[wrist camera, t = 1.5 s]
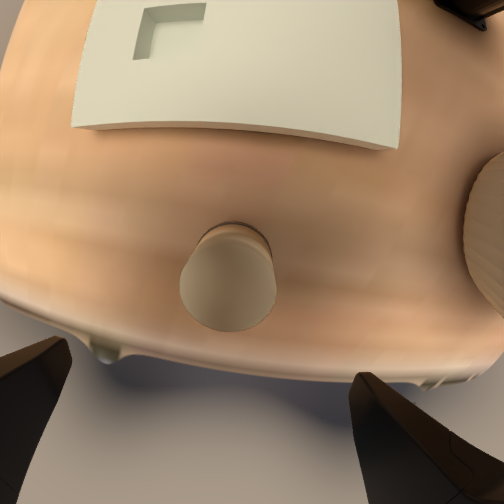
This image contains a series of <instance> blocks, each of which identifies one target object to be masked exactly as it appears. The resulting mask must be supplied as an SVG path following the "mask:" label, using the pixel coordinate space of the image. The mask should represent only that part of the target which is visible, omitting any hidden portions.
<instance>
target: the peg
mask: <svg viewBox="0 0 504 504" xmlns="http://www.w3.org/2000/svg"><path fill="white" fill-rule="evenodd" d="M276 290H277V289H276V281H275V275H274V269H273V263H272V253H271V249H270V246H269V244H268V242H267V240H266V238H265V237H264V236H263V235H262V234H261V233H260V232H259V231H258V230H257V229H255V228H254V227H252V226H250V225H248V224H245V223H242V222H224V223H221V224H218V225H216V226H214V227H212V228H211V229H209V230H208V231H207V232H206V233H205V234H204V235H203V236H202V238H201V239H200V241H199V243H198V244H197V247H196V249H195V250H194V252H193V253H192V255H191V256H190V258H189V260H188V261H187V263H186V264H185V266H184V268H183V270H182V273H181V276H180V281H179V291H180V296H181V299H182V302H183V304H184V306H185V308H186V309H187V311H188V312H189V314H190V315H191V316H192V317H193V318H194V319H195V320H197V321H198V322H199V323H201V324H202V325H204V326H206V327H208V328H211V329H213V330H217V331H222V332H238V331H243V330H246V329H249V328H251V327H253V326H255V325H257V324H258V323H260V322H261V321H262V320H263V319H264V318H265V317H266V316H267V315H268V314H269V312H270V311H271V309H272V307H273V305H274V302H275V298H276Z"/></svg>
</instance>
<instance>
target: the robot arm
mask: <svg viewBox="0 0 504 504" xmlns="http://www.w3.org/2000/svg"><path fill="white" fill-rule="evenodd" d="M434 2H435V3H436V4H437V5H438V6H440V7H442V8H444V9H446V10H448V11H449V12H451V13H453V14H455V15H457V16H458V17H460V18H462V19H463V20H465V21H467V22H468V23H470V24H472V25H473V26H475V27H476V28H478V29H479V30H481V31H483V32H484V31H486V30H487V28H486V23H485V18H487V17H489V16H491V15H494V14H496V13H498V12H501V11H503V10H504V0H434ZM71 365H72V357H71V353H70V350H69V346H68V343H67V340H66V339H65V338H62V337H59V336H53V337H50V338H48V339H45V340H43V341H40V342H38V343H35V344H33V345H30V346H27V347H25V348H22V349H20V350H18V351H15V352H12V353H10V354H7V355H5V356H2V357H0V504H16V502H17V499H18V496H19V493H20V490H21V486H22V484H23V481H24V478H25V476H26V473H27V470H28V468H29V465H30V462H31V460H32V458H33V455H34V452H35V450H36V448H37V445H38V443H39V441H40V438H41V436H42V434H43V431H44V429H45V427H46V425H47V423H48V421H49V419H50V416H51V414H52V412H53V410H54V408H55V406H56V404H57V402H58V399H59V397H60V394H61V391H62V389H63V386H64V383H65V381H66V378H67V376H68V373H69V371H70V368H71ZM348 399H349V407H350V413H351V421H352V429H353V437H354V442H355V446H356V450H357V454H358V458H359V462H360V467H361V471H362V475H363V480H364V484H365V488H366V493H367V498H368V502H369V504H504V462H502V461H500V460H498V459H496V458H494V457H492V456H490V455H489V454H487V453H485V452H483V451H481V450H480V449H478V448H476V447H475V446H473V445H471V444H469V443H468V442H467V441H465V440H463V439H462V438H460V437H459V436H458V435H456V434H455V433H453V432H452V431H449V429H448V428H446V427H445V426H443V425H442V424H441V423H439V422H438V421H436V420H435V419H433V418H432V417H431V416H429V415H428V414H427V413H425V412H424V411H422V410H421V409H420V408H418V407H417V406H416V405H414V404H413V403H412V402H410V401H409V400H407V399H406V398H404V397H403V396H402V395H401V394H399V393H398V392H396V391H395V390H394V389H392V388H391V387H390V386H388V385H387V384H386V383H384V382H383V381H382V380H380V379H379V378H378V377H376V376H375V375H374V374H372V373H371V372H359V373H357V374H356V376H355V378H354V380H353V383H352V385H351V388H350V390H349V394H348Z"/></svg>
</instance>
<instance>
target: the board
mask: <svg viewBox="0 0 504 504" xmlns="http://www.w3.org/2000/svg"><path fill="white" fill-rule="evenodd" d="M401 95H402V59H401V36H400V22H399V12H398V3H397V0H98V1H97V3H96V6H95V9H94V13H93V16H92V19H91V22H90V26H89V29H88V33H87V37H86V41H85V45H84V49H83V53H82V58H81V62H80V67H79V72H78V78H77V83H76V89H75V96H74V103H73V111H72V120H71V128H80V129H89V130H109V129H126V128H156V127H184V128H215V129H233V130H246V131H258V132H268V133H277V134H286V135H293V136H301V137H308V138H314V139H321V140H327V141H333V142H338V143H344V144H349V145H354V146H359V147H364V148H369V149H373V150H387V149H398V146H399V134H400V119H401Z"/></svg>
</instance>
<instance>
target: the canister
mask: <svg viewBox="0 0 504 504" xmlns="http://www.w3.org/2000/svg"><path fill="white" fill-rule="evenodd" d="M466 206H467V207H466V213H465V215H464V217H465V221H464V225H463V229H464V235H463V242H464V247H463V250H464V253H465V261H466V264H467V266H468V271H469V273H470V275H471V277H472V279H473V281H474V283H475V285H476V286H477V288H478V289H479V290H480V291H481V293H482V294H483V295H484V297H485V298H486V299H487V300H488V301H489V302H490V304H491V305H492V306H493V307H494V308H495V309H496V310H497V311H498V313H499V314H500V315H501V316H502V317H503V318H504V152H502V153H500V154H498V155H497V156H495V157H493V158H492V159H491V160H490V161H489V162H488V163H487V164H486V165H485V166H484V167H483V169H482V171H481V172H480V173H479V174H478V176H477V180H476V181H475V182H474V183H473V188H472V191H471V192H470V194H469V200H468V203H467V204H466Z"/></svg>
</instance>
